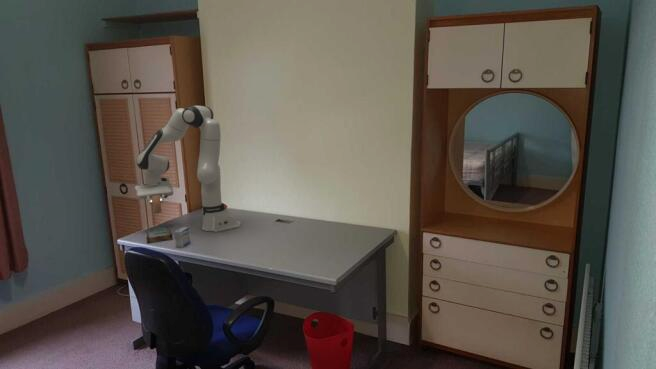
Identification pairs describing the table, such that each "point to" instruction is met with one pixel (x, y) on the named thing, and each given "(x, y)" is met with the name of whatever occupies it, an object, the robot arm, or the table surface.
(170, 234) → the frame
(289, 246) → the table surface
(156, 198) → the terracotta canister
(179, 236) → the medicine box
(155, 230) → the pad
